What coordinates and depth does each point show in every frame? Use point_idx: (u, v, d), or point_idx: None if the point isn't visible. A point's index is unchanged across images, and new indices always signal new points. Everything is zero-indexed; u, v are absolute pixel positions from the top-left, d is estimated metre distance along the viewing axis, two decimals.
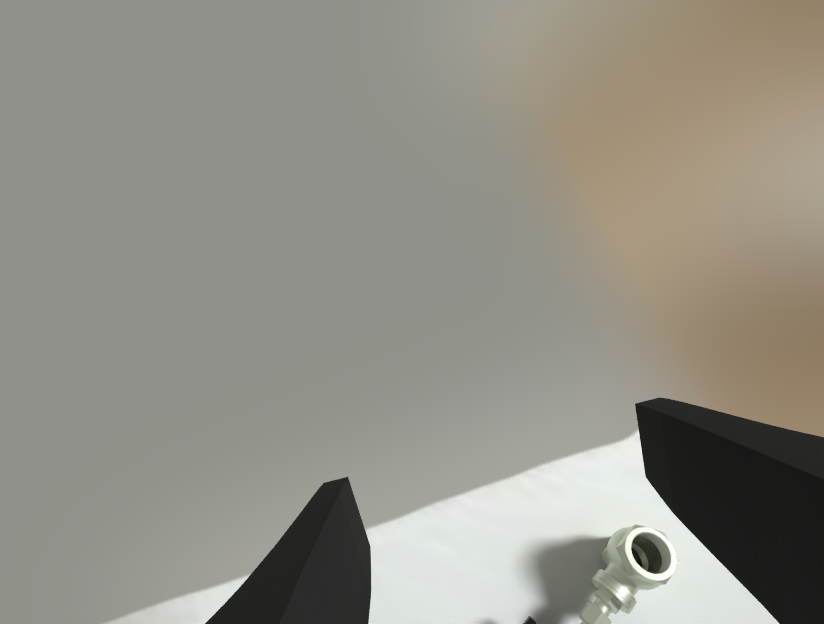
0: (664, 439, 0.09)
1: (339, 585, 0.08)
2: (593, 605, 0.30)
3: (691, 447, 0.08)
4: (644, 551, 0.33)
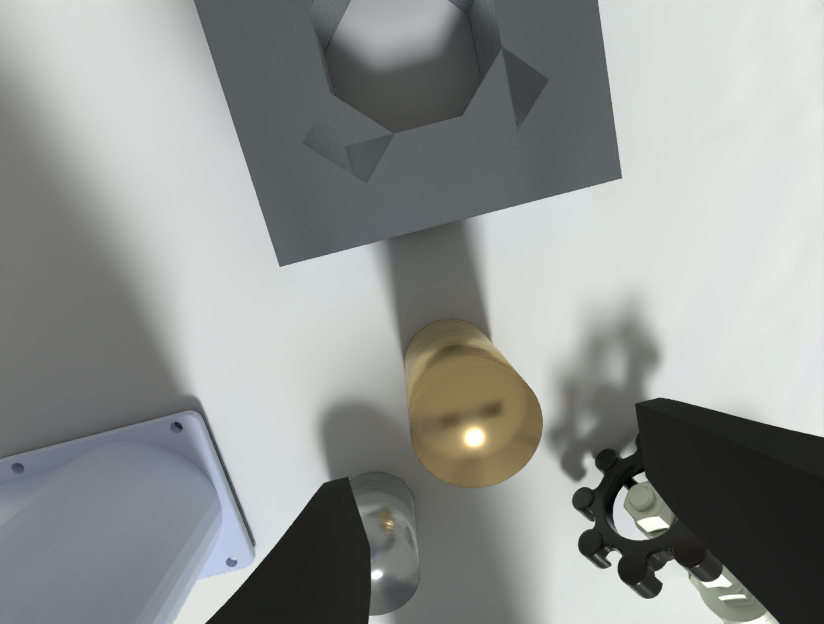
0: (664, 439, 0.09)
1: (338, 585, 0.08)
2: None
3: (691, 447, 0.08)
4: None
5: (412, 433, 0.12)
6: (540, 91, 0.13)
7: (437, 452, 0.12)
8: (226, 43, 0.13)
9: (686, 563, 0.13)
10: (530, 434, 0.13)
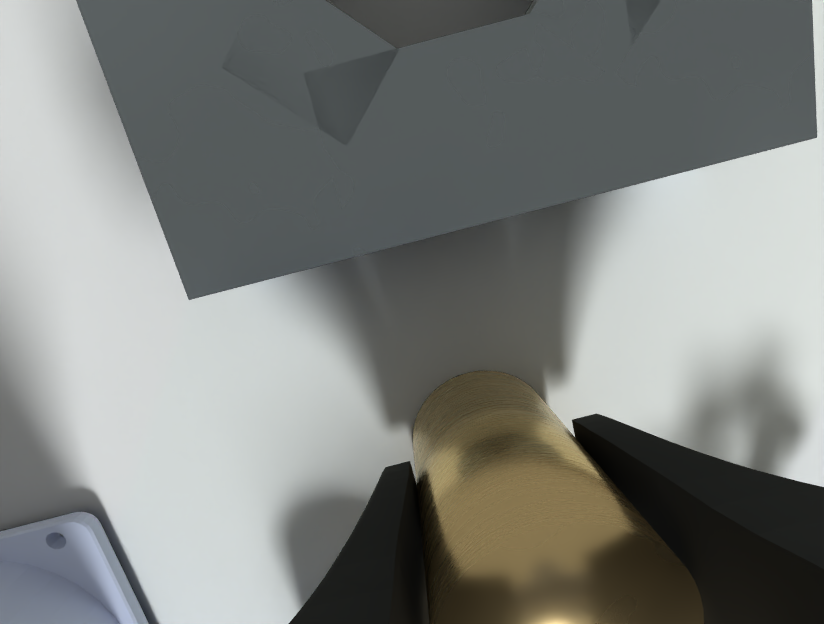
0: (595, 457, 0.09)
1: (418, 565, 0.08)
2: None
3: (614, 466, 0.08)
4: None
5: None
6: None
7: None
8: None
9: None
10: None
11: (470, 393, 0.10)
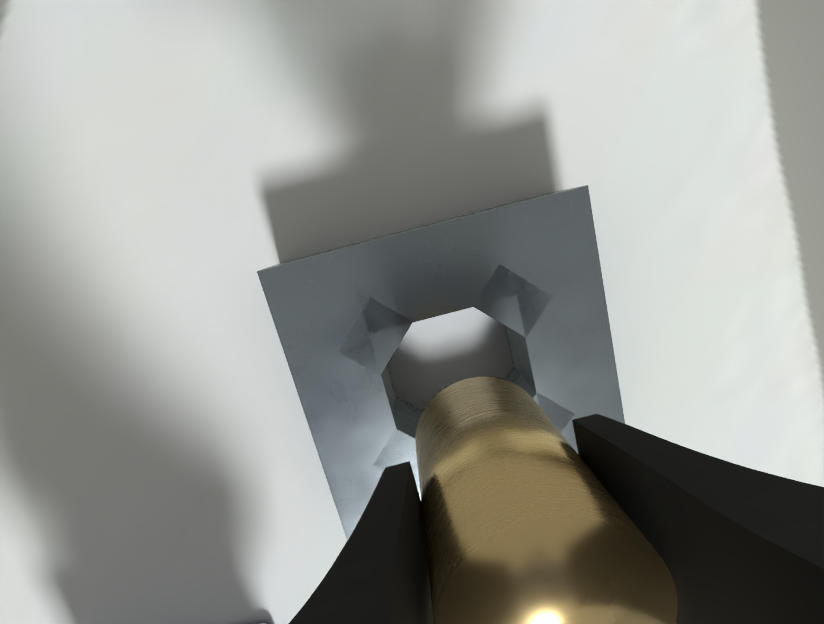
0: (595, 457, 0.09)
1: (418, 565, 0.08)
2: None
3: (615, 466, 0.08)
4: None
5: None
6: (567, 422, 0.16)
7: None
8: (314, 398, 0.16)
9: None
10: None
11: (470, 398, 0.11)
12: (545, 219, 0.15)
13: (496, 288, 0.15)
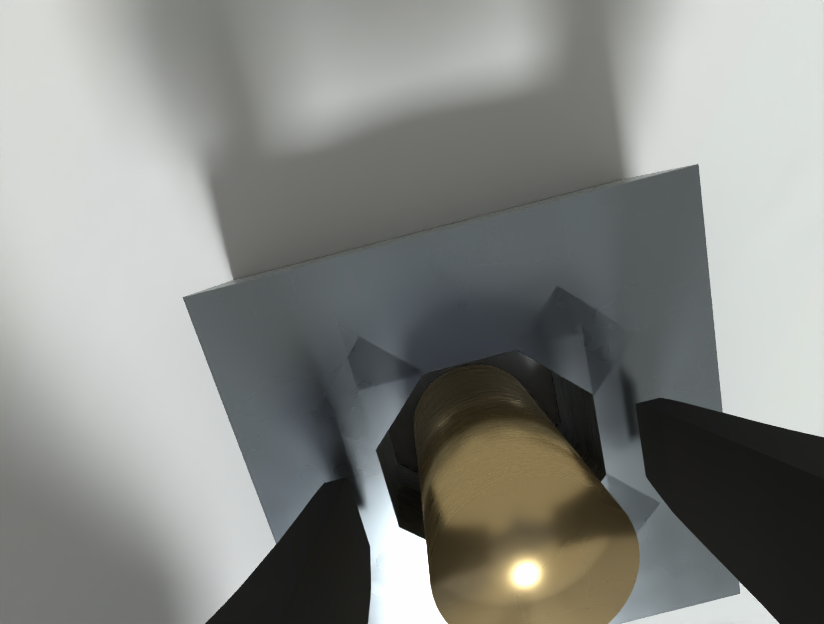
0: (664, 439, 0.09)
1: (338, 585, 0.08)
2: None
3: (691, 447, 0.08)
4: None
5: (432, 579, 0.08)
6: (649, 514, 0.11)
7: (471, 606, 0.08)
8: (276, 484, 0.10)
9: None
10: (619, 579, 0.08)
11: (463, 383, 0.12)
12: (630, 217, 0.09)
13: (551, 322, 0.10)
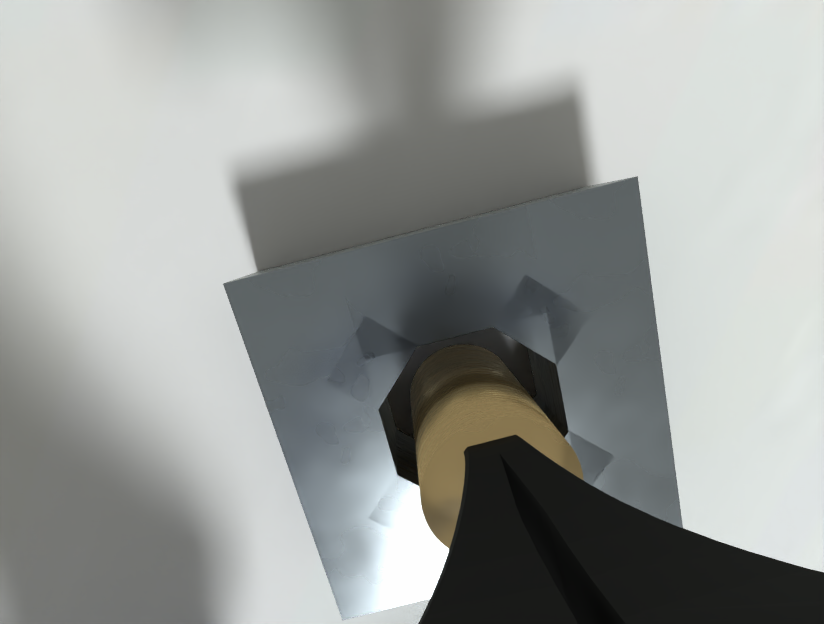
0: None
1: None
2: None
3: (516, 491, 0.08)
4: None
5: (422, 498, 0.10)
6: (605, 466, 0.13)
7: (453, 521, 0.10)
8: (296, 438, 0.13)
9: None
10: None
11: (452, 358, 0.14)
12: (583, 218, 0.12)
13: (521, 304, 0.12)
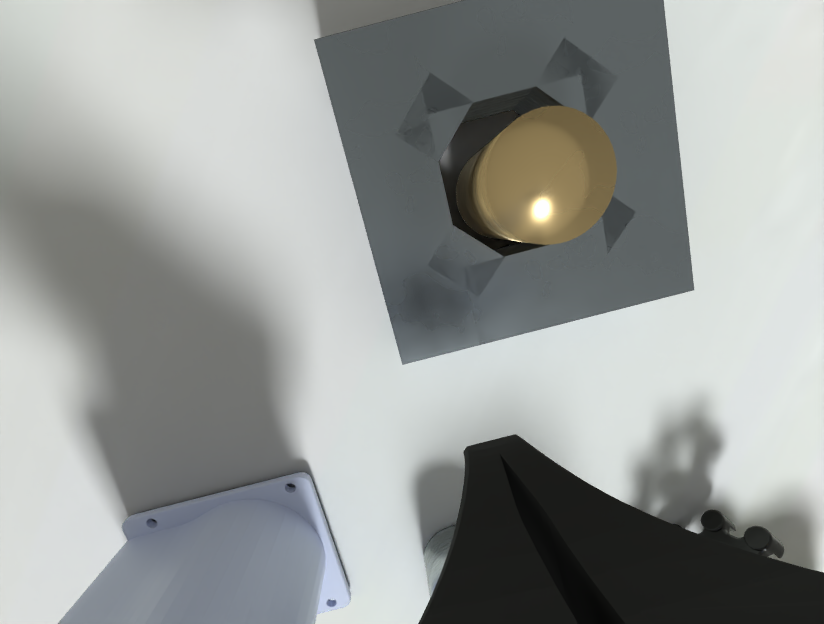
0: None
1: None
2: None
3: (516, 491, 0.08)
4: None
5: (487, 179, 0.12)
6: (628, 221, 0.16)
7: (511, 202, 0.13)
8: (369, 187, 0.15)
9: None
10: (604, 187, 0.13)
11: None
12: None
13: (560, 65, 0.15)
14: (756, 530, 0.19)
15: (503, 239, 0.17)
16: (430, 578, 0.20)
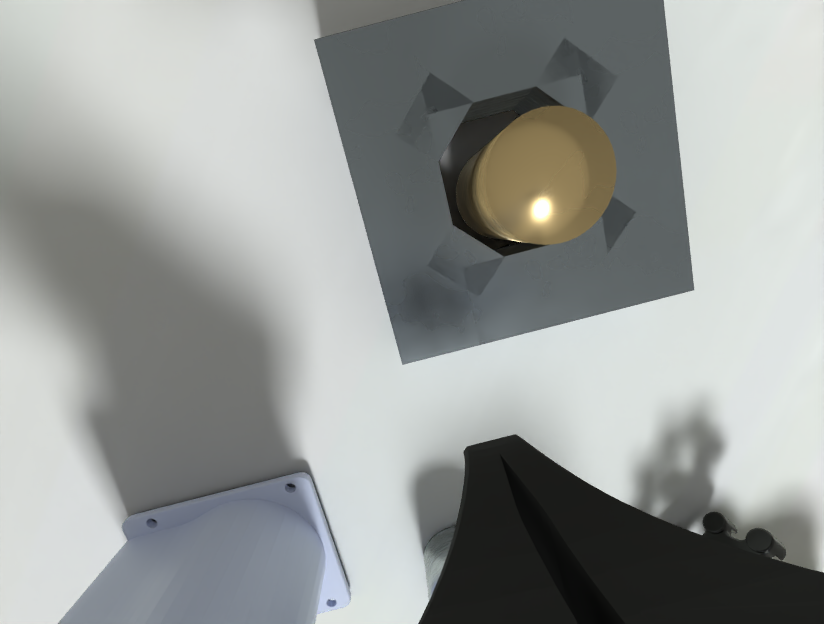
0: None
1: None
2: None
3: (516, 491, 0.08)
4: None
5: (487, 179, 0.12)
6: (628, 221, 0.16)
7: (510, 202, 0.13)
8: (369, 187, 0.15)
9: None
10: (603, 187, 0.13)
11: None
12: None
13: (560, 65, 0.15)
14: (758, 532, 0.19)
15: (503, 239, 0.17)
16: (428, 582, 0.20)
